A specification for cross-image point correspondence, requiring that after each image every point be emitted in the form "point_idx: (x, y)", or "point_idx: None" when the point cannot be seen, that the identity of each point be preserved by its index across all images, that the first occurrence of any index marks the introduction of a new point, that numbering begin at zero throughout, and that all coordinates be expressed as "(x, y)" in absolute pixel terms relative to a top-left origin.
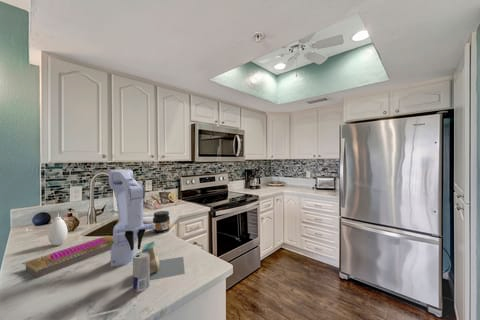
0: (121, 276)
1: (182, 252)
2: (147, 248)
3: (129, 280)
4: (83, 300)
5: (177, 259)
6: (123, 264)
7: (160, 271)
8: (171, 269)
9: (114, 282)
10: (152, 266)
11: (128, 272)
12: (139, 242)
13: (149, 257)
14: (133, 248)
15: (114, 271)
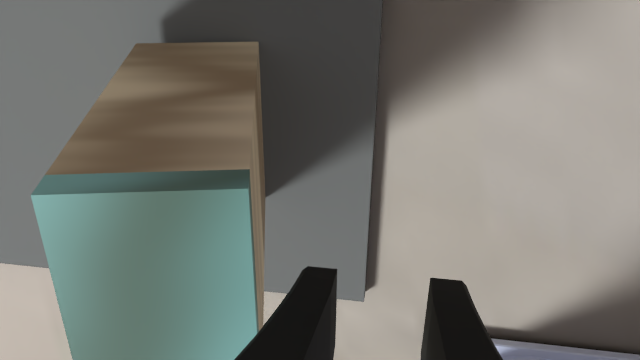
0: (550, 142)
1: (2, 350)
2: (141, 206)
3: (457, 17)
4: None
5: (2, 226)
6: (543, 351)
7: (127, 47)
8: (13, 42)
9: (622, 41)
10: (181, 65)
11: (481, 194)
12: (268, 351)
13: (170, 116)
14: (423, 337)
15: (627, 272)
